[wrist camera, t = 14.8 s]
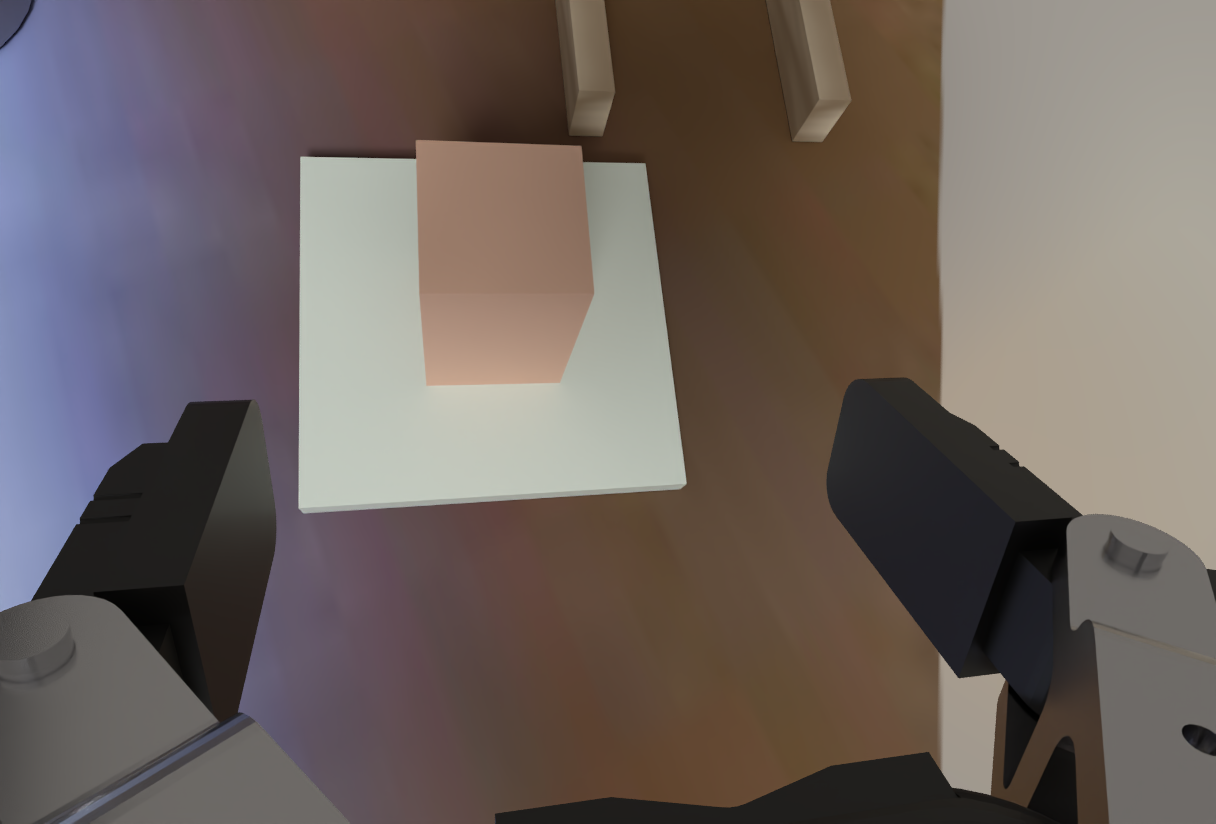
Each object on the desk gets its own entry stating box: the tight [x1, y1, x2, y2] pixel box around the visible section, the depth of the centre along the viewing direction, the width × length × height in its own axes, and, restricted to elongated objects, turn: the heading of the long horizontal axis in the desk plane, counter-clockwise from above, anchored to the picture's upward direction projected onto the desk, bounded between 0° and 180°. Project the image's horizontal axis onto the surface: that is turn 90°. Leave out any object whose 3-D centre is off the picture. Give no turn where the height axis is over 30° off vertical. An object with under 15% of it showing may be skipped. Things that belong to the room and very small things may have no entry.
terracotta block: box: [416, 140, 594, 386], centre depth 28 cm, size 5×5×8 cm
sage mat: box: [299, 157, 687, 513], centre depth 32 cm, size 14×14×1 cm
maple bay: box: [555, 0, 851, 142], centre depth 38 cm, size 12×12×3 cm
